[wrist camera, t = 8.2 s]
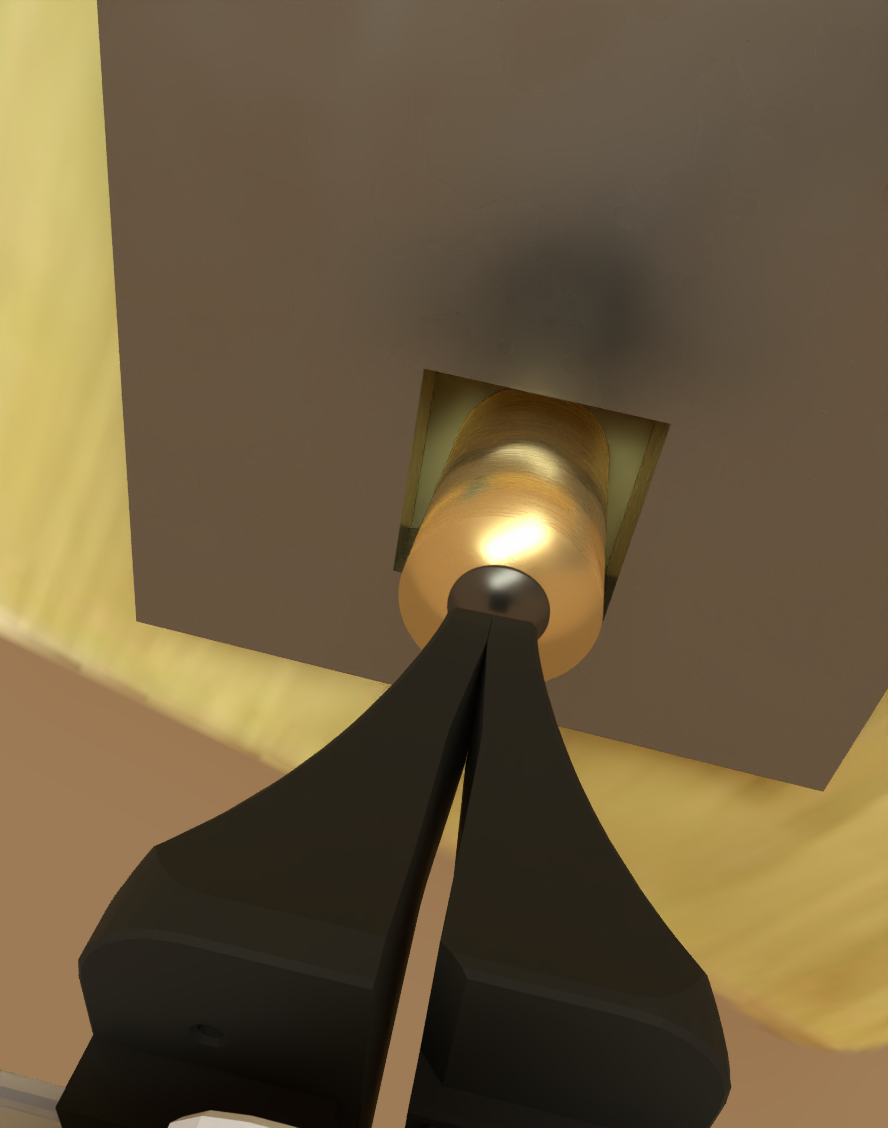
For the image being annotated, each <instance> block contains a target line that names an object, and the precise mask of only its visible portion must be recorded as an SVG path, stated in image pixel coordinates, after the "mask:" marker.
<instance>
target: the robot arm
mask: <svg viewBox="0 0 888 1128" xmlns="http://www.w3.org/2000/svg"><path fill="white" fill-rule="evenodd" d="M492 619H493V620H492ZM468 747H469V748H468ZM467 752H468V753H467ZM466 757H467V759H466ZM465 761H466V765H465ZM464 765H465V774H464V784H463V793H462V803H461V812H460V822H459V831H458V841H457V851H456V860H455V871H454V878H453V883H452V887H451V892H450V898H449V902H448V907H447V911H446V916H445V921H444V926H443V931H442V936H441V940H440V945H439V951H438V956H437V962H436V967H435V973H434V978H433V983H432V989H431V994H430V999H429V1005H428V1010H427V1015H426V1021H425V1026H424V1032H423V1037H422V1043H421V1048H420V1053H419V1058H418V1063H417V1069H416V1073H415V1078H414V1083H413V1088H412V1094H411V1098H410V1103H409V1108H408V1113H407V1120H406V1126H405V1128H710V1127H711V1126H712V1124H713V1123H714V1121H715V1120H716V1118H717V1116H718V1115H719V1113H720V1112H721V1110H722V1108H723V1107H724V1105H725V1104H726V1101H727V1098H728V1095H729V1092H730V1089H731V1082H730V1067H729V1060H728V1052H727V1048H726V1043H725V1038H724V1034H723V1029H722V1025H721V1021H720V1017H719V1013H718V1009H717V1005H716V1002H715V999H714V995H713V992H712V989H711V985H710V982H709V979H708V976H707V975H706V973H705V972H704V971H703V970H702V968H701V967H700V966H699V965H698V964H697V962H696V961H695V960H694V959H693V958H692V956H691V955H690V954H689V953H688V952H687V950H686V949H685V948H684V947H683V945H682V944H681V943H680V942H679V941H678V939H677V938H676V937H675V936H674V934H673V933H672V932H671V930H670V929H669V928H668V927H667V925H666V924H665V923H664V921H663V920H662V919H661V917H660V916H659V914H658V913H657V912H656V910H655V909H654V907H653V906H652V904H651V903H650V902H649V900H648V899H647V897H646V896H645V895H644V893H643V892H642V890H641V889H640V888H639V886H638V884H637V883H636V881H635V880H634V878H633V876H632V875H631V873H630V872H629V870H628V868H627V867H626V865H625V864H624V862H623V860H622V859H621V857H620V856H619V854H618V852H617V851H616V849H615V848H614V846H613V844H612V843H611V841H610V840H609V838H608V836H607V834H606V832H605V831H604V829H603V827H602V825H601V823H600V821H599V819H598V818H597V816H596V814H595V812H594V810H593V808H592V806H591V804H590V802H589V800H588V798H587V796H586V794H585V792H584V790H583V788H582V785H581V783H580V781H579V779H578V777H577V774H576V772H575V770H574V767H573V765H572V762H571V760H570V757H569V755H568V752H567V750H566V747H565V745H564V742H563V739H562V737H561V734H560V731H559V728H558V725H557V722H556V719H555V716H554V712H553V709H552V706H551V702H550V699H549V696H548V692H547V688H546V684H545V681H544V676H543V671H542V667H541V662H540V656H539V649H538V639H537V628H536V627H535V626H534V624H533V623H532V622H529V621H523V620H518V619H513V618H508V617H503V616H498V615H494V617H493V614H488V613H483V612H478V611H473V610H468V609H463V608H458V607H455V608H454V609H452V610H450V611H448V613H447V615H446V617H445V619H444V620H443V622H442V623H441V625H440V626H439V628H438V630H437V631H436V632H435V634H434V635H433V637H432V638H431V639H430V641H429V642H428V643H427V645H426V646H425V647H424V648H423V650H422V651H421V652H420V654H419V655H418V656H417V657H416V658H415V660H414V661H413V662H412V663H411V664H410V665H409V666H408V668H407V669H406V670H405V671H404V672H403V673H402V675H401V676H400V677H399V678H398V679H397V680H396V681H395V682H394V683H393V685H392V686H391V687H390V688H389V689H388V690H387V691H386V692H385V693H384V694H383V695H382V696H381V697H380V698H379V699H378V700H377V701H376V702H375V703H374V704H373V705H372V706H371V707H370V708H369V709H368V710H367V711H366V712H365V713H364V714H362V715H361V716H360V717H359V718H358V719H357V720H356V721H355V722H354V723H352V724H351V725H350V726H349V727H348V728H347V729H346V730H344V731H343V732H342V733H341V734H340V735H339V736H337V737H336V738H335V739H334V740H332V741H331V742H330V743H329V744H328V745H326V746H325V747H324V748H322V749H321V750H320V751H319V752H317V753H316V754H314V755H313V756H312V757H310V758H309V759H308V760H306V761H305V762H303V763H302V764H301V765H299V766H298V767H297V768H295V769H294V770H293V771H291V772H290V773H288V774H287V775H285V776H284V777H282V778H281V779H279V780H278V781H276V782H275V783H273V784H272V785H270V786H268V787H267V788H265V789H263V790H261V791H260V792H258V793H256V794H255V795H253V796H251V797H250V798H248V799H246V800H245V801H243V802H241V803H240V804H238V805H236V806H235V807H233V808H231V809H229V810H228V811H226V812H224V813H222V814H220V815H218V816H217V817H215V818H213V819H211V820H209V821H207V822H205V823H203V824H201V825H199V826H196V827H195V828H192V829H190V830H188V831H186V832H184V833H182V834H180V835H178V836H176V837H174V838H172V839H170V840H167V841H166V842H163V843H161V844H159V845H156V846H154V847H153V848H152V849H151V851H150V852H149V853H148V854H147V855H146V856H145V857H144V859H143V860H142V861H141V862H140V864H139V865H138V866H137V867H136V869H135V870H134V871H133V873H132V874H131V875H130V876H129V878H128V879H127V881H126V882H125V883H124V884H123V886H122V887H121V888H120V890H119V891H118V892H117V894H116V895H115V897H114V898H113V900H112V901H111V903H110V904H109V906H108V908H107V909H106V911H105V913H104V915H103V916H102V918H101V920H100V922H99V924H98V925H97V927H96V929H95V931H94V932H93V934H92V936H91V938H90V940H89V942H88V943H87V945H86V947H85V949H84V950H83V952H82V954H81V956H80V958H79V960H78V966H79V979H80V983H81V987H82V991H83V995H84V1000H85V1004H86V1007H87V1011H88V1016H89V1020H90V1024H91V1027H92V1032H93V1036H92V1038H91V1040H90V1042H89V1044H88V1046H87V1048H86V1050H85V1052H84V1054H83V1056H82V1057H81V1059H80V1061H79V1063H78V1065H77V1067H76V1069H75V1071H74V1073H73V1075H72V1076H71V1078H70V1080H69V1082H68V1084H67V1086H66V1087H64V1086H59V1085H56V1084H52V1083H48V1082H45V1081H41V1080H37V1079H33V1078H29V1077H26V1076H22V1075H18V1074H14V1073H10V1072H7V1071H2V1070H0V1128H371V1127H372V1123H373V1118H374V1114H375V1109H376V1104H377V1100H378V1095H379V1090H380V1086H381V1081H382V1077H383V1072H384V1067H385V1063H386V1058H387V1054H388V1048H389V1045H390V1040H391V1035H392V1030H393V1026H394V1021H395V1017H396V1012H397V1008H398V1003H399V999H400V994H401V990H402V985H403V981H404V976H405V971H406V967H407V963H408V958H409V954H410V949H411V944H412V940H413V936H414V931H415V927H416V922H417V918H418V913H419V909H420V905H421V901H422V898H423V894H424V890H425V887H426V883H427V880H428V877H429V874H430V871H431V867H432V864H433V861H434V858H435V855H436V852H437V849H438V846H439V843H440V840H441V837H442V834H443V830H444V827H445V824H446V821H447V818H448V815H449V812H450V809H451V806H452V803H453V800H454V796H455V793H456V790H457V787H458V784H459V781H460V778H461V775H462V772H463V768H464Z"/></svg>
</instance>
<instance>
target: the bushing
mask: <svg viewBox="0 0 888 1128" xmlns="http://www.w3.org/2000/svg"><path fill="white" fill-rule="evenodd" d="M608 473H609V451H608V444H607V441H606V437H605V435H604V432H603V430H602V428H601V426H600V424H599V423H598V421H597V420H596V418H595V417H594V416H593V415H592V413H591V412H590V411H589V410H588V409H587V408H586V407H585V406H583V405H582V404H580V403H575V402H571V401H566V400H562V399H558V398H553V397H549V396H544V395H540V394H535V393H531V392H526V391H522V390H517V389H513V388H510V389H507V390H503V391H500V392H498V393H496V394H494V395H492V396H490V397H488V398H487V399H485V400H484V401H482V402H481V403H480V404H479V405H477V406H476V407H475V408H474V409H473V410H472V411H471V413H470V414H469V415H468V417H467V418H466V419H465V421H464V423H463V425H462V427H461V429H460V431H459V433H458V436H457V438H456V441H455V443H454V446H453V448H452V451H451V453H450V455H449V458H448V460H447V463H446V465H445V468H444V470H443V473H442V475H441V478H440V480H439V483H438V485H437V487H436V490H435V492H434V495H433V497H432V500H431V502H430V505H429V507H428V510H427V512H426V515H425V517H424V519H423V522H422V524H421V527H420V529H419V532H418V534H417V537H416V539H415V542H414V544H413V547H412V549H411V551H410V554H409V556H408V559H407V561H406V564H405V566H404V569H403V572H402V575H401V578H400V583H399V589H398V600H399V607H400V612H401V615H402V619H403V622H404V624H405V626H406V628H407V630H408V632H409V634H410V635H411V637H412V638H413V640H414V641H415V643H416V644H417V645H418V646H419V647H420V649H421V650H423V648H424V647H425V646H426V645H427V643H428V642H429V641H430V639H431V638H432V637H433V635H434V634H435V632H436V631H437V630H438V628H439V626H440V625H441V623H442V622H443V620H444V619H445V617H446V615H447V613H448V611H450V610H452V609H454V608H455V607H458V608H463V609H468V610H473V611H478V612H483V613H488V614H493V617H494V615H498V616H503V617H508V618H513V619H518V620H523V621H529V622H532V623H533V624H534V626H535V627H536V628H537V639H538V649H539V656H540V662H541V667H542V671H543V676H544V681H548V680H551V679H553V678H556V677H558V676H560V675H562V674H564V673H565V672H567V671H569V670H570V669H571V668H573V667H574V666H576V665H577V664H578V663H579V662H580V661H581V660H582V659H583V658H584V657H585V656H586V655H587V654H588V652H589V651H590V650H591V648H592V647H593V645H594V643H595V641H596V639H597V638H598V635H599V632H600V629H601V625H602V619H603V603H604V577H605V551H606V525H607V499H608ZM492 620H493V619H492Z"/></svg>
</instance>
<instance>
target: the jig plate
mask: <svg viewBox="0 0 888 1128" xmlns="http://www.w3.org/2000/svg"><path fill="white" fill-rule="evenodd" d="M97 8H98V24H99V40H100V55H101V71H102V87H103V103H104V118H105V134H106V150H107V165H108V181H109V197H110V213H111V228H112V244H113V260H114V276H115V291H116V307H117V323H118V338H119V354H120V370H121V386H122V401H123V417H124V433H125V449H126V464H127V480H128V496H129V511H130V527H131V543H132V559H133V574H134V590H135V606H136V621H138V622H142V623H146V624H150V625H154V626H158V627H162V628H166V629H170V630H174V631H178V632H182V633H186V634H190V635H194V636H198V637H202V638H206V639H210V640H214V641H218V642H222V643H226V644H230V645H234V646H238V647H242V648H246V649H250V650H255V651H259V652H263V653H267V654H271V655H275V656H279V657H283V658H287V659H291V660H295V661H299V662H303V663H307V664H311V665H315V666H319V667H323V668H327V669H331V670H335V671H339V672H343V673H347V674H351V675H355V676H359V677H363V678H367V679H371V680H375V681H379V682H383V683H388V684H392V685H393V683H394V682H395V681H396V680H397V679H398V678H399V677H400V676H401V675H402V673H403V672H404V671H405V670H406V669H407V668H408V666H409V665H410V664H411V663H412V662H413V661H414V660H415V658H416V657H417V656H418V655H419V654H420V652H421V651H422V650H421V649H420V647H419V646H418V645H417V644H416V643H415V641H414V640H413V638H412V637H411V635H410V634H409V632H408V630H407V628H406V626H405V624H404V622H403V619H402V615H401V612H400V607H399V600H398V589H399V583H400V578H401V575H402V572H403V569H404V566H405V564H406V561H407V559H408V556H409V554H410V551H411V549H412V547H413V544H414V542H415V539H416V537H417V534H418V532H419V530H418V529H414V528H411V526H412V520H413V514H414V508H415V502H416V495H417V489H418V483H419V477H420V471H421V465H422V458H423V452H424V446H425V440H426V434H427V428H428V421H429V415H430V409H431V403H432V397H433V391H434V384H435V378H436V372H441V373H446V374H450V375H455V376H459V377H464V378H468V379H473V380H477V381H481V382H486V383H490V384H495V385H499V386H504V387H508V388H513V389H517V390H522V391H526V392H531V393H535V394H540V395H544V396H549V397H553V398H558V399H562V400H566V401H571V402H575V403H580V404H584V405H589V406H593V407H598V408H602V409H607V410H611V411H616V412H620V413H625V414H629V415H634V416H638V417H643V418H647V419H651V420H656V422H655V425H654V428H653V431H652V434H651V437H650V440H649V443H648V446H647V449H646V452H645V455H644V458H643V461H642V464H641V467H640V470H639V473H638V476H637V479H636V482H635V485H634V488H633V491H632V494H631V497H630V500H629V503H628V506H627V509H626V512H625V515H624V518H623V521H622V524H621V527H620V531H619V534H618V537H617V540H616V543H615V546H614V549H613V552H612V555H611V558H610V561H609V564H608V567H607V570H606V573H605V577H604V603H603V619H602V625H601V629H600V632H599V635H598V638H597V639H596V641H595V643H594V645H593V647H592V648H591V650H590V651H589V652H588V654H587V655H586V656H585V657H584V658H583V659H582V660H581V661H580V662H579V663H578V664H577V665H576V666H574V667H573V668H571V669H570V670H569V671H567V672H565V673H564V674H562V675H560V676H558V677H556V678H553V679H551V680H548V681H545V684H546V688H547V692H548V696H549V699H550V702H551V706H552V709H553V712H554V716H555V719H556V722H557V725H558V726H561V727H565V728H569V729H573V730H577V731H581V732H585V733H589V734H593V735H597V736H601V737H605V738H609V739H613V740H617V741H621V742H625V743H629V744H633V745H637V746H641V747H645V748H649V749H654V750H658V751H662V752H666V753H670V754H674V755H678V756H682V757H686V758H690V759H694V760H698V761H702V762H706V763H710V764H714V765H718V766H722V767H726V768H730V769H734V770H738V771H742V772H746V773H750V774H754V775H758V776H762V777H766V778H770V779H774V780H778V781H783V782H787V783H791V784H795V785H799V786H803V787H807V788H811V789H815V790H819V791H824V789H825V788H826V786H827V785H828V783H829V781H830V780H831V778H832V777H833V775H834V773H835V772H836V770H837V769H838V767H839V765H840V764H841V762H842V761H843V759H844V757H845V756H846V754H847V753H848V751H849V749H850V748H851V746H852V745H853V743H854V741H855V740H856V738H857V737H858V735H859V733H860V732H861V730H862V729H863V727H864V725H865V724H866V722H867V721H868V719H869V718H870V716H871V714H872V713H873V711H874V710H875V708H876V706H877V705H878V703H879V702H880V700H881V698H882V697H883V695H884V694H885V692H886V690H887V689H888V0H97Z"/></svg>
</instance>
